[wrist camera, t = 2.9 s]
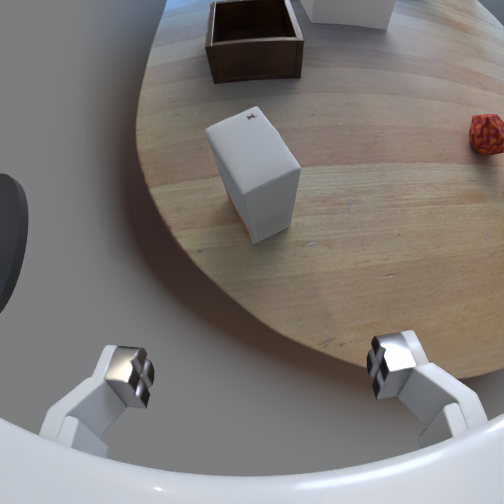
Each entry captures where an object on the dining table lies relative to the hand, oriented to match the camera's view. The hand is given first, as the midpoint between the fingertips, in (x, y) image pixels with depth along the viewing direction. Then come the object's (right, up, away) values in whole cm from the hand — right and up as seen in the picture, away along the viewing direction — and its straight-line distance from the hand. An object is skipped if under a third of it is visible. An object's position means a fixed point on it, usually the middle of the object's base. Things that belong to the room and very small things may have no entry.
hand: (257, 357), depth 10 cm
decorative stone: (+33, +19, +21) cm, 43 cm away
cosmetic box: (0, +8, +20) cm, 21 cm away
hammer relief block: (+16, +55, +30) cm, 65 cm away
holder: (0, +33, +26) cm, 42 cm away
